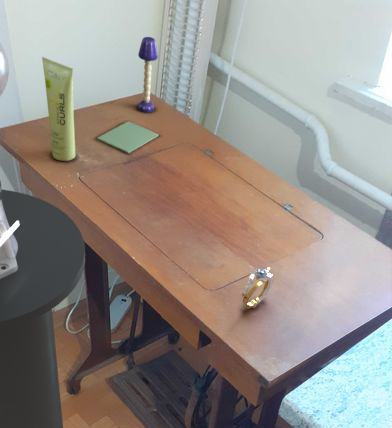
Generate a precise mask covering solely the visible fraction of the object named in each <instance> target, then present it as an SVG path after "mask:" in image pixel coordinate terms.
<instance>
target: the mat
mask: <svg viewBox="0 0 392 428" xmlns="http://www.w3.org/2000/svg"><path fill="white" fill-rule="evenodd" d="M157 137H159V133H157V132H155V131H152V130H150V129H147V128H145V127H143V126H141V125H138V124H136V123H134V122H132V121H130V120H129V121H125V122H124V123H122V124H120V125H119V126H117V127H115V128H113V129H111V130H109V131H107V132H105V133H104V134H101V135H99V136H98V137H97V140H98V141H100V142H102V143H104V144H106V145H109V146H111V147H113V148H115V149H118V150H120V151H122V152H124V153H126V154H130V153H133V152H134V151H136V150H138V149H139V148H140V147H142V146H144V145H146V144H147V143H149V142H150V141H152V140H154V139H156V138H157Z"/></svg>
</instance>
